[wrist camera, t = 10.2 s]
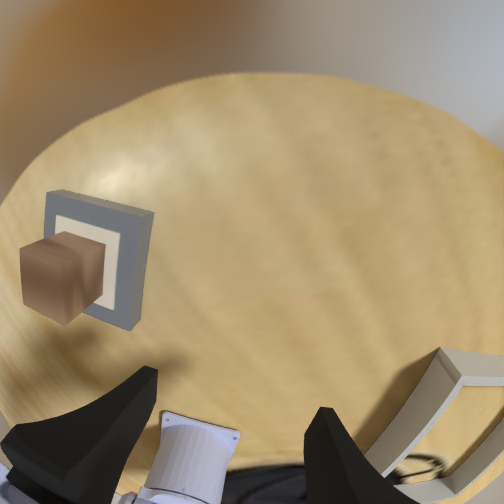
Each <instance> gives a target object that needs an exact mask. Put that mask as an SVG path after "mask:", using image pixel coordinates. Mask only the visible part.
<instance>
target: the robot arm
mask: <svg viewBox="0 0 504 504" xmlns="http://www.w3.org/2000/svg"><path fill="white" fill-rule="evenodd" d="M157 377H158V370H157V369H154V368H151V367H148V366H143V367H142V368H140V369H139V370H138V371H137V372H136V373H134V374H133V375H132V376H131V377H129V378H128V379H127V380H125V381H124V382H123V383H121V384H120V385H119V386H117V387H116V388H114V389H113V390H111V391H110V392H108V393H107V394H105V395H103V396H102V397H100V398H98V399H97V400H95V401H93V402H91V403H89V404H87V405H85V406H83V407H81V408H79V409H77V410H74V411H72V412H69V413H67V414H64V415H61V416H58V417H54V418H50V419H46V420H43V421H38V422H31V423H24V424H16V425H15V426H14V427H13V428H12V429H11V430H10V432H9V433H8V434H7V435H6V437H5V438H4V439H3V440H2V441H1V443H0V445H1V449H2V450H3V452H4V454H5V455H6V456H7V458H8V459H9V461H10V462H11V464H12V465H13V468H12V469H11V470H9V468H8V467H6V466H5V465H4V464H3V463H2V462H0V504H111V502H112V499H113V496H114V493H115V490H116V487H117V485H118V482H119V479H120V476H121V474H122V471H123V468H124V466H125V463H126V461H127V459H128V457H129V455H130V453H131V451H132V449H133V447H134V445H135V444H136V442H137V440H138V438H139V436H140V434H141V433H142V431H143V429H144V427H145V425H146V424H147V422H148V420H149V418H150V415H151V413H152V410H153V408H154V405H155V402H156V394H157ZM239 438H240V432H239V431H237V430H232V429H228V428H224V427H220V426H216V425H212V424H208V423H204V422H201V421H197V420H194V419H190V418H187V417H183V416H180V415H177V414H174V413H171V412H167V411H165V412H164V413H163V415H162V425H161V438H160V446H159V449H158V451H157V454H156V456H155V459H154V461H153V464H152V466H151V469H150V472H149V474H148V477H147V479H146V482H145V484H144V487H143V486H141V488H140V490H139V493H138V495H137V493H135V492H132V491H131V492H129V493H126V494H124V495H123V496H122V497H121V499H120V500H119V502H118V504H220V503H221V497H222V492H223V486H224V480H225V475H226V469H227V465H228V463H229V461H230V459H231V456H232V454H233V452H234V449H235V447H236V445H237V443H238V440H239ZM304 464H305V475H306V487H307V504H420V503H419V502H417V501H415V500H413V499H411V498H410V497H408V496H407V495H405V494H404V493H402V492H401V491H400V490H398V489H397V488H396V487H394V486H393V485H392V484H391V483H390V482H388V481H387V480H386V479H385V478H384V477H383V476H382V475H381V474H380V473H379V472H378V471H377V470H376V469H375V468H374V467H373V466H372V465H371V464H370V462H369V461H368V460H367V459H366V458H365V456H364V455H363V454H362V452H361V451H360V450H359V448H358V447H357V446H356V444H355V443H354V441H353V440H352V438H351V437H350V435H349V434H348V432H347V431H346V429H345V427H344V426H343V424H342V422H341V421H340V419H339V417H338V416H337V414H336V412H335V411H334V409H333V408H327V407H320V408H319V410H318V412H317V413H316V415H315V417H314V419H313V420H312V422H311V424H310V425H309V427H308V429H307V430H306V432H305V434H304Z"/></svg>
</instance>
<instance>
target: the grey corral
mask: <svg viewBox="0 0 504 504" xmlns="http://www.w3.org/2000/svg"><path fill="white" fill-rule="evenodd" d="M463 385H465V386H504V356H502V355H493V354H485V353H478V352H470V351H463V350H457V349H450V348H443V347H440V348H439V350H438V352H437V353H436V355H435V357H434V359H433V360H432V362H431V364H430V365H429V367H428V369H427V370H426V372H425V374H424V375H423V377H422V378H421V380H420V382H419V383H418V385H417V386H416V388H415V389H414V391H413V392H412V394H411V395H410V397H409V398H408V400H407V401H406V402H405V404H404V405H403V407H402V408H401V409H400V411H399V412H398V414H397V415H396V416H395V418H394V419H393V420H392V422H391V423H390V424H389V425H388V427H387V428H386V429H385V431H384V432H383V433H382V434H381V435H380V437H379V438H378V439H377V440H376V442H375V443H374V444H373V445H372V446H371V447H370V449H369V450H368V451H367V452H366V453H365V454H364V456H365V458H366V459H367V460H368V461H369V462H370V464H371V465H372V466H373V467H374V468H375V469H376V470H377V471H378V472H379V473H380V474H381V475H382V476H383V477H384V478H385V477H386V476H387V475H388V474H389V473H390V472H391V471H392V470H393V469H394V468H395V467H396V466H397V465H398V464H399V463H400V462H401V461H402V460H403V459H404V458H405V457H406V456H407V455H408V454H409V453H410V452H411V451H412V450H413V449H414V447H415V446H416V445H417V444H418V443H419V442H420V441H421V440H422V438H423V437H424V436H425V435H426V434H427V433H428V431H429V430H430V429H431V428H432V427H433V425H434V424H435V423H436V422H437V420H438V419H439V418H440V417H441V415H442V414H443V413H444V411H445V410H446V409H447V408H448V406H449V405H450V403H451V402H452V401H453V399H454V398H455V397H456V395H457V394H458V392H459V391H460V389H461V388H462V386H463ZM503 453H504V417H503V419H502V420H501V421H500V423H499V424H498V425H497V426H496V427H495V429H494V430H493V431H492V432H491V433H490V435H489V436H488V437H487V438H486V439H485V440H484V441H483V443H482V444H481V445H480V446H479V447H478V448H477V449H476V450H475V451H474V452H473V453H472V454H471V455H470V456H469V457H468V458H467V459H466V461H465V462H463V463H462V464H461V465H460V466H459V467H458V468H457V469H456V470H455V471H454V472H453V473H452V474H451V475H450V476H449V477H445V478H440V479H435V480H429V481H424V482H417V483H410V484H403V485H394V487H396V488H397V489H398V490H400V491H401V492H402V493H404V494H405V495H407V496H408V497H410V498H411V499H413V500H415V501H417V502H419V503H420V504H431V503H435V502H439V501H443V500H447V499H450V498H454V497H456V496H457V495H459V494H460V493H461V492H462V491H463V490H465V489H466V488H467V487H468V486H469V485H470V484H472V483H473V482H474V481H475V480H476V479H477V478H478V477H479V476H480V475H482V474H483V473H484V472H485V471H486V470H487V469H488V468H489V467H490V466H491V465H492V464H493V463H494V462H495V461H496V460H497V459H498V458H499V457H500V456H501V455H502V454H503Z"/></svg>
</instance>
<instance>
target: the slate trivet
mask: <svg viewBox="0 0 504 504" xmlns="http://www.w3.org/2000/svg"><path fill="white" fill-rule="evenodd" d="M153 217H154V212H151V211H147V210H143V209H139V208H135V207H131V206H127V205H123V204H119V203H115V202H111V201H107V200H103V199H99V198H95V197H91V196H87V195H83V194H79V193H74V192H70V191H66V190H56V191H50V192H47V194H46V206H45V221H44V239H45V238H47V237H50V236H52V235H55V234H58V233H60V232H63V231H66V232H69V233H72V234H75V235H78V236H81V237H85V238H88V239H91V240H94V241H97V242H100V243H103V244H106V248H105V261H104V277H103V295H102V296H101V297H99V298H98V299H97V300H96V301H94V302H93V303H92V304H91V305H90V306H88V307H87V308H86V309H85V310H84V311H82V312H83V313H85V314H88V315H90V316H92V317H95V318H97V319H100V320H102V321H104V322H107V323H109V324H112V325H115V326H117V327H120V328H122V329H125V330H128V331H131V330H132V329H133V328H134V327H135V325H136V324H137V323H138V322H139V321H140V317H141V306H142V296H143V287H144V278H145V270H146V262H147V255H148V248H149V241H150V235H151V228H152V222H153Z"/></svg>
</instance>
